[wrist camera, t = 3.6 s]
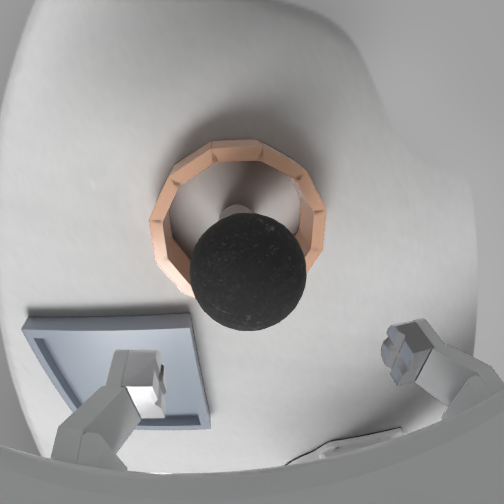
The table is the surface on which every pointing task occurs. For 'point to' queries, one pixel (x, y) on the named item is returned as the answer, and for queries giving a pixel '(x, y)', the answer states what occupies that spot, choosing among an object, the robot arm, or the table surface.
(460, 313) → the table surface
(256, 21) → the table surface
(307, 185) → the ring
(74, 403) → the tray
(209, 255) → the light bulb
